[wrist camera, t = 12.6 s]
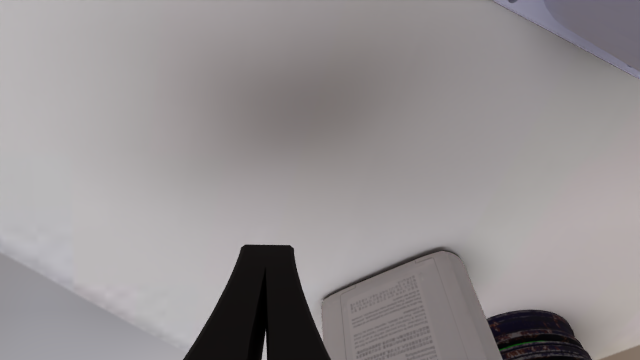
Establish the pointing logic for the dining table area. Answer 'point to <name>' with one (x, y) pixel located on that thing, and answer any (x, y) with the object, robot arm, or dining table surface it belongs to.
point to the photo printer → (410, 315)
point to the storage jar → (535, 336)
